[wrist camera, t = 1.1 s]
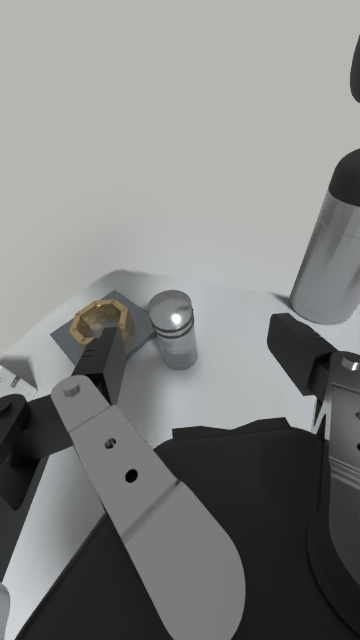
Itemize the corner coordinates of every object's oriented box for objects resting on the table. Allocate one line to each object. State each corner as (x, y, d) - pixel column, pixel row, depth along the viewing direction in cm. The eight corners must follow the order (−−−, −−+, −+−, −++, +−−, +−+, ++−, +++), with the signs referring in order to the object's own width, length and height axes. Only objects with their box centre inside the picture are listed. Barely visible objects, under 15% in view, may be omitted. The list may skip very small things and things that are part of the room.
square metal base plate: (116, 293, 45) (110, 280, 42) (163, 327, 37) (159, 314, 35) (53, 337, 39) (41, 325, 36) (93, 387, 32) (82, 376, 29)
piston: (180, 335, 36) (169, 283, 28) (205, 353, 33) (201, 301, 25) (157, 357, 34) (137, 308, 25) (181, 377, 31) (168, 330, 23)
